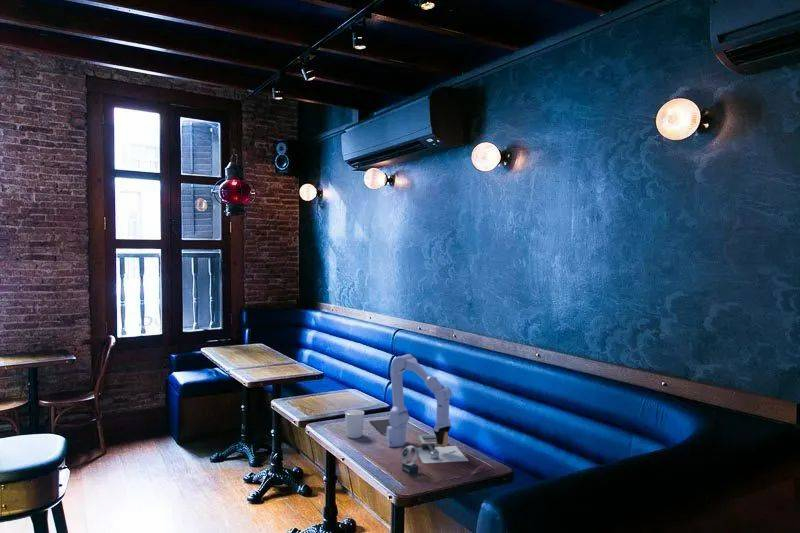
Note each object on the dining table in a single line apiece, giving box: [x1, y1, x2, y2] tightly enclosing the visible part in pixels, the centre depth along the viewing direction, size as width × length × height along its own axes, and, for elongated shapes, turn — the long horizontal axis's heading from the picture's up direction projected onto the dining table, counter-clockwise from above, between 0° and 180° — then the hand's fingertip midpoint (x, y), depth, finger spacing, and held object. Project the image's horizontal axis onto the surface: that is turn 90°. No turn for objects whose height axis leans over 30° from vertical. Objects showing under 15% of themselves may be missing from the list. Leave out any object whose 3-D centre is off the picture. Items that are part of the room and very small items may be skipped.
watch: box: [400, 445, 420, 476], centre depth 234 cm, size 6×8×11 cm
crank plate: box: [413, 445, 469, 464], centre depth 253 cm, size 21×19×1 cm
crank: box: [421, 442, 439, 459], centre depth 252 cm, size 14×6×3 cm, turn 12°
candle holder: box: [344, 408, 365, 439], centre depth 278 cm, size 10×10×12 cm
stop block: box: [435, 432, 449, 447], centre depth 254 cm, size 4×4×6 cm
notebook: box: [369, 418, 391, 436], centre depth 292 cm, size 13×2×21 cm
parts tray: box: [418, 434, 437, 447], centre depth 269 cm, size 12×12×2 cm
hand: (441, 442), depth 254 cm, fingers closed on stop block, 4 cm apart
